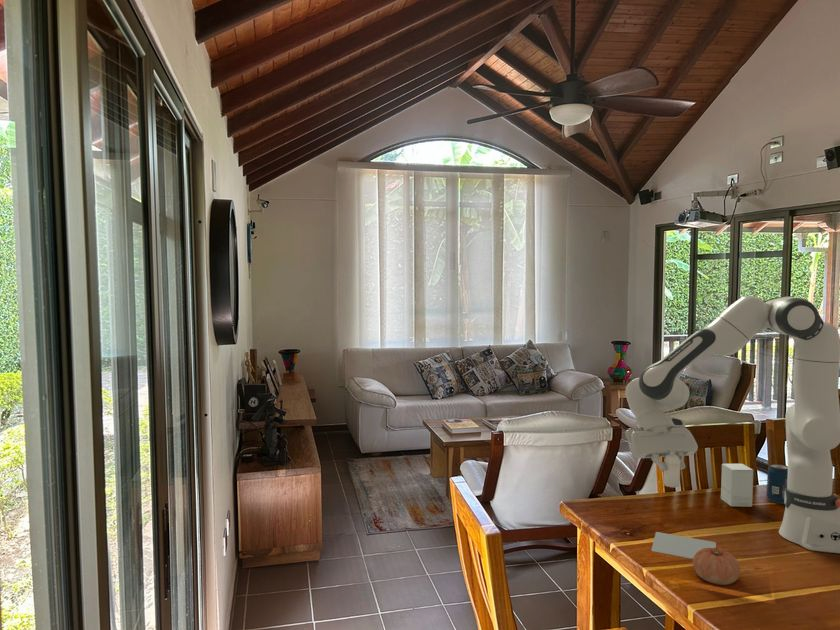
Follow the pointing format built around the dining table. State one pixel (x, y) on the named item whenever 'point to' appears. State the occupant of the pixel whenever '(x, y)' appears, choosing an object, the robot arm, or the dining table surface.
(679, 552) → the grey pad
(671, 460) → the white rounded bottle
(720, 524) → the dining table surface
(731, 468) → the supplement box
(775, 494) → the soda can
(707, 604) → the dining table surface
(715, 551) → the tomato
